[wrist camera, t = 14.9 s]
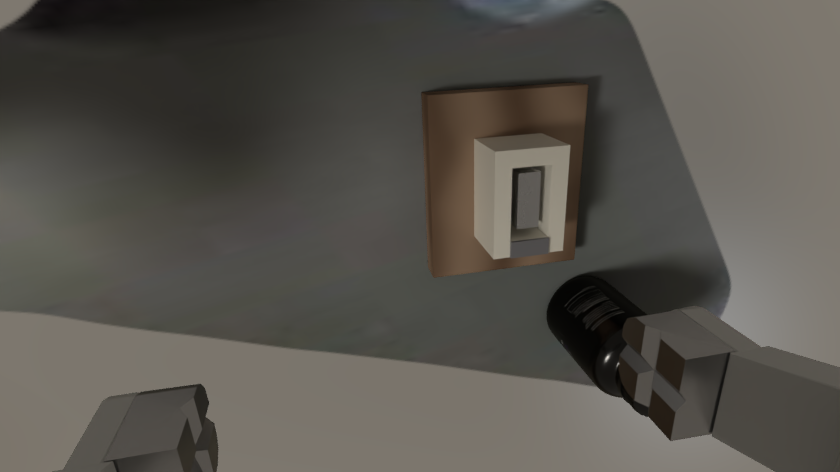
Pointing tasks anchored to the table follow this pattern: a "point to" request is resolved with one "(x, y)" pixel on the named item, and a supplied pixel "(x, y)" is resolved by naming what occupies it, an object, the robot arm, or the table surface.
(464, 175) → the board
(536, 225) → the tall grey block
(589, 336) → the supplement bottle
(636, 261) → the table surface
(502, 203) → the open rectangular brace
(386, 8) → the table surface
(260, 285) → the table surface
